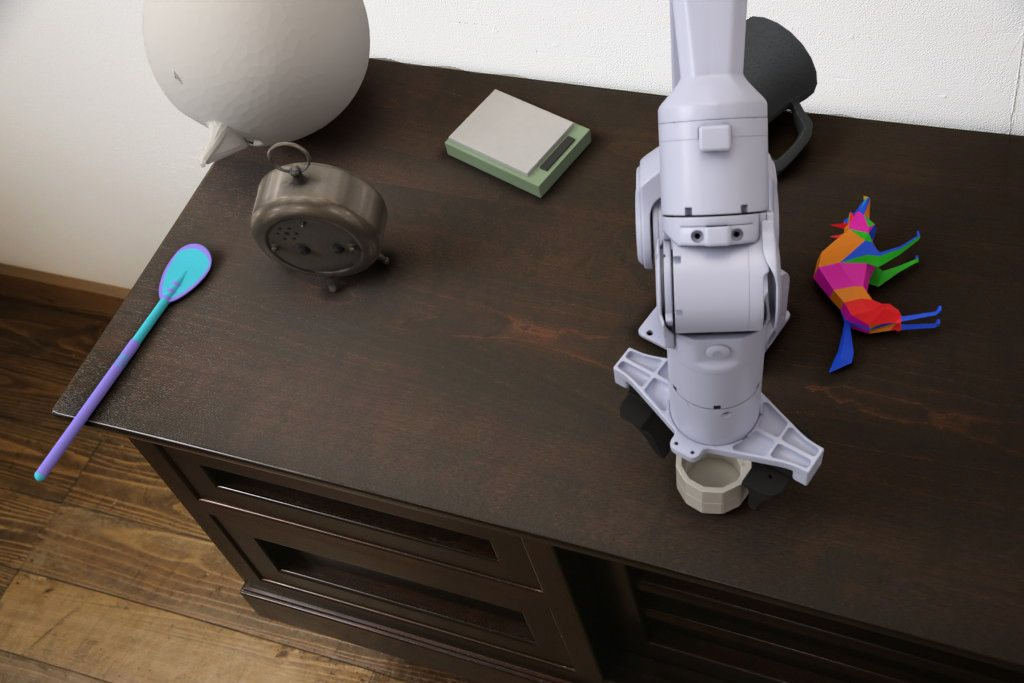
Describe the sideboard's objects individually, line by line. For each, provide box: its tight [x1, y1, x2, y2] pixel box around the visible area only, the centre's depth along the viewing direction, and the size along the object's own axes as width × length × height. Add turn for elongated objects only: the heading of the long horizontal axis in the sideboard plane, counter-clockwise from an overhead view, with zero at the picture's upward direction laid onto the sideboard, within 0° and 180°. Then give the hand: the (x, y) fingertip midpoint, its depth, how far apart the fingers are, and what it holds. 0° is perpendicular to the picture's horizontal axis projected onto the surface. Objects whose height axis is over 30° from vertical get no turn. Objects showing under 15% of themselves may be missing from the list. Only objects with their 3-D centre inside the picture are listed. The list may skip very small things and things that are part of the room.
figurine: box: [813, 195, 943, 374], centre depth 85 cm, size 4×15×9 cm
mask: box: [141, 0, 371, 168], centre depth 100 cm, size 22×18×20 cm
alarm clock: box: [249, 141, 390, 293], centre depth 89 cm, size 11×5×16 cm, turn 84°
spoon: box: [33, 242, 213, 482], centre depth 93 cm, size 25×4×1 cm, turn 156°
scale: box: [444, 89, 592, 199], centre depth 100 cm, size 11×8×2 cm
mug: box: [743, 15, 818, 177], centre depth 95 cm, size 12×9×11 cm
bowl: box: [675, 453, 753, 515], centre depth 77 cm, size 5×5×4 cm
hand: (713, 472), depth 77 cm, fingers open, 7 cm apart
